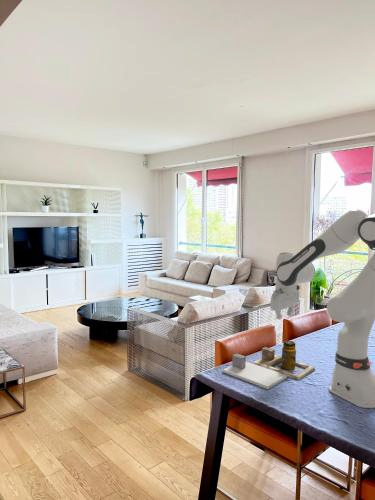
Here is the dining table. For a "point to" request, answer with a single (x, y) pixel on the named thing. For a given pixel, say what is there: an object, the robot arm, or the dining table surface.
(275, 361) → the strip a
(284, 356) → the condiment
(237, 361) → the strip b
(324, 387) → the dining table surface
